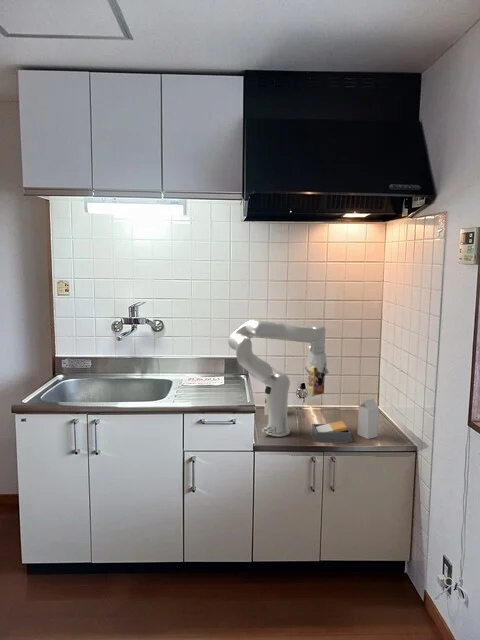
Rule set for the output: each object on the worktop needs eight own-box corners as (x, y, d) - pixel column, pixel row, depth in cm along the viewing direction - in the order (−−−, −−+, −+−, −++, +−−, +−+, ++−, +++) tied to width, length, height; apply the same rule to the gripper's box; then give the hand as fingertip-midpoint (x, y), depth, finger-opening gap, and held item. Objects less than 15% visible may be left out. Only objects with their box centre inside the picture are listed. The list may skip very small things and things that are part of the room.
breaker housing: (314, 441, 237) (314, 432, 236) (310, 432, 250) (310, 423, 249) (352, 441, 237) (353, 433, 237) (346, 432, 250) (346, 424, 250)
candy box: (313, 396, 249) (314, 367, 248) (307, 395, 253) (307, 366, 251) (324, 393, 255) (325, 365, 253) (318, 392, 258) (319, 364, 257)
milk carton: (377, 437, 244) (379, 400, 242) (367, 439, 241) (369, 402, 239) (367, 432, 250) (369, 397, 248) (357, 434, 247) (358, 398, 245)
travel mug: (278, 413, 281) (279, 383, 278) (278, 417, 273) (278, 386, 271) (264, 412, 281) (265, 382, 279) (264, 416, 273) (264, 385, 271)
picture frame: (319, 436, 238) (319, 433, 238) (316, 429, 248) (315, 426, 248) (347, 429, 238) (346, 426, 238) (342, 423, 248) (342, 420, 248)
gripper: (300, 348, 254) (299, 382, 256) (326, 352, 243) (325, 388, 245) (308, 346, 260) (307, 379, 262) (335, 351, 248) (333, 385, 250)
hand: (316, 383), depth 253 cm, fingers closed on candy box, 4 cm apart
